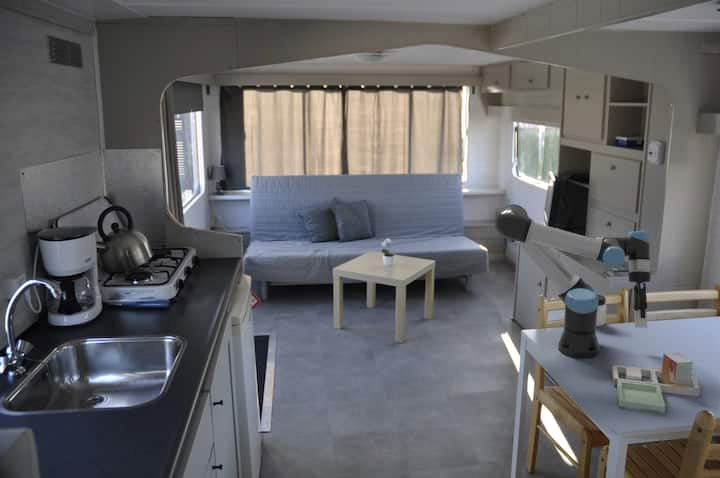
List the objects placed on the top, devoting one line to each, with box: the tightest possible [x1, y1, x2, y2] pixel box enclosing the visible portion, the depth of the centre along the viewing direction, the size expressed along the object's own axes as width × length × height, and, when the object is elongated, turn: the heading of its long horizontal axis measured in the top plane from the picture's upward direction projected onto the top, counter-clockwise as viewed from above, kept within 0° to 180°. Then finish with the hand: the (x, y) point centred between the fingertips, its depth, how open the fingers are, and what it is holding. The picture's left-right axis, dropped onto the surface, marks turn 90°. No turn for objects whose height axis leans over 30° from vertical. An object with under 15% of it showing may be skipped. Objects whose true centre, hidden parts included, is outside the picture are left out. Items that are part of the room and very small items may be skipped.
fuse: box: [624, 366, 643, 381], centre depth 209 cm, size 5×7×4 cm, turn 160°
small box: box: [660, 352, 693, 387], centre depth 204 cm, size 8×6×10 cm
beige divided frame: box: [611, 364, 701, 398], centre depth 207 cm, size 26×12×3 cm, turn 70°
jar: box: [595, 293, 607, 327], centre depth 262 cm, size 9×8×12 cm
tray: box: [616, 380, 666, 415], centre depth 196 cm, size 13×15×2 cm
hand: (640, 327), depth 229 cm, fingers open, 13 cm apart
